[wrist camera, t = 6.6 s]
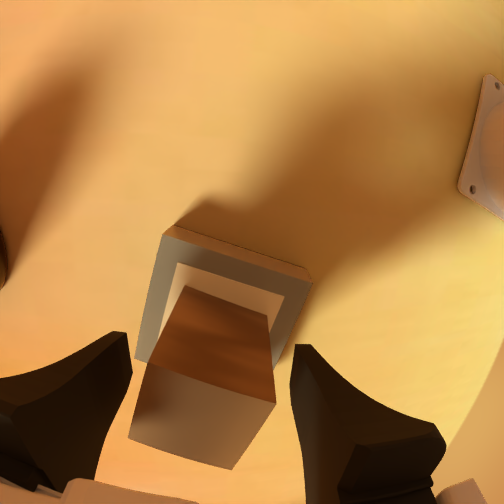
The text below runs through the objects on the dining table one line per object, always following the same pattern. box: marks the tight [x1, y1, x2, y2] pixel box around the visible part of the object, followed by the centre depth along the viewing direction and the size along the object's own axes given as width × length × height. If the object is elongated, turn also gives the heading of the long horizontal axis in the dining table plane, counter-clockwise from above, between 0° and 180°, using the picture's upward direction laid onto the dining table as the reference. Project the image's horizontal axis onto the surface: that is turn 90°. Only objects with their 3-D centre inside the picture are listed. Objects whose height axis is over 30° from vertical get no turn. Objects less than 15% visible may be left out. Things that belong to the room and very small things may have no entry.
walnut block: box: [128, 285, 276, 470], centre depth 12 cm, size 4×4×6 cm
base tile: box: [134, 225, 313, 370], centre depth 16 cm, size 7×7×2 cm
